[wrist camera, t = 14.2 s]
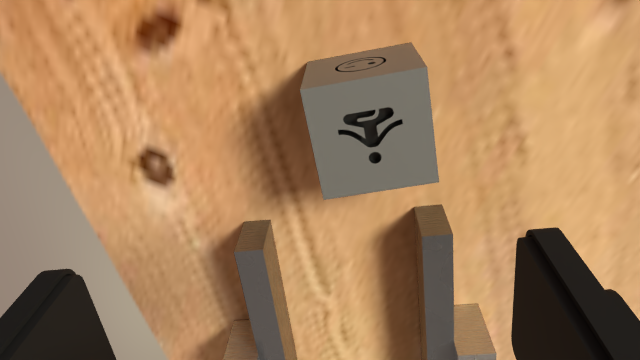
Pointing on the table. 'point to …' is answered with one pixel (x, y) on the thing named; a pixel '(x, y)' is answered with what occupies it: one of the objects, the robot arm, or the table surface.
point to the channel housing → (433, 287)
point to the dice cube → (370, 121)
